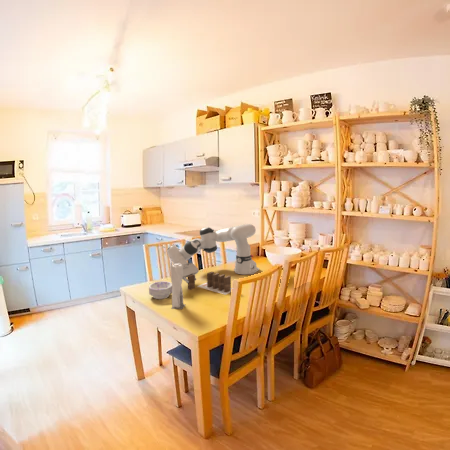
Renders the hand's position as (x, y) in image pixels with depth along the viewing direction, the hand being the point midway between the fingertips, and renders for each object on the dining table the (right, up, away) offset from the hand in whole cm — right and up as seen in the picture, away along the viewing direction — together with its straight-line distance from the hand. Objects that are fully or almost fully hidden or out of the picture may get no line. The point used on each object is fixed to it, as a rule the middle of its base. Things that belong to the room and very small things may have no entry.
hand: (191, 281), depth 217 cm
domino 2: (+13, -4, +5) cm, 14 cm away
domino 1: (-1, -6, +1) cm, 6 cm away
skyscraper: (-6, -11, -26) cm, 29 cm away
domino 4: (+20, -5, -2) cm, 21 cm away
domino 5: (+24, -6, -5) cm, 25 cm away
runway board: (+17, -6, +2) cm, 18 cm away
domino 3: (+17, -5, +2) cm, 17 cm away
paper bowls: (-19, -8, -11) cm, 23 cm away
